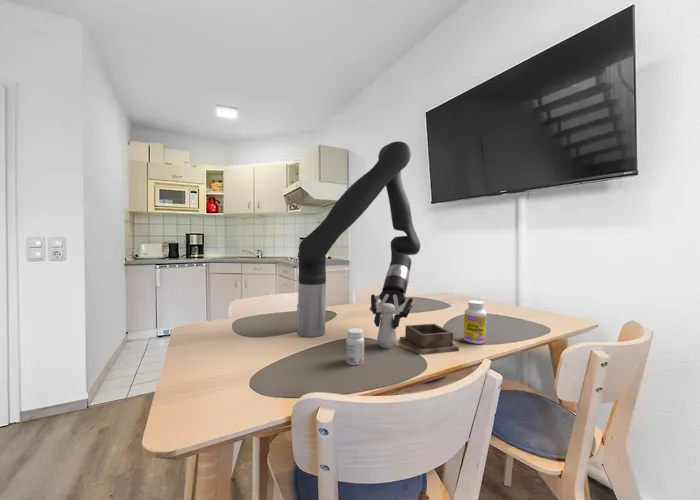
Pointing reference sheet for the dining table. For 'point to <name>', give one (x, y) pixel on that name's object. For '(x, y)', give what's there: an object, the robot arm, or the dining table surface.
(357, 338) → the pill bottle
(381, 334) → the salt shaker
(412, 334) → the socket board
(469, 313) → the supplement bottle
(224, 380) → the dining table surface
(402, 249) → the robot arm
